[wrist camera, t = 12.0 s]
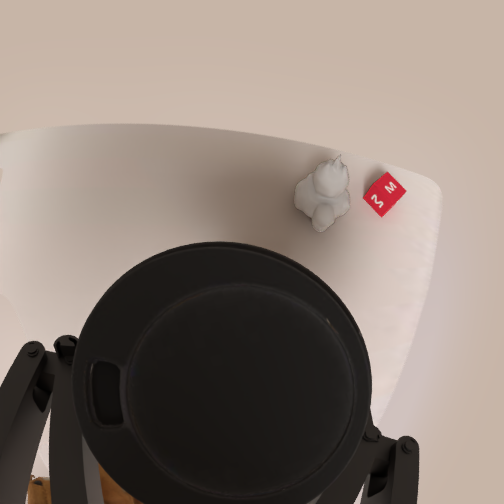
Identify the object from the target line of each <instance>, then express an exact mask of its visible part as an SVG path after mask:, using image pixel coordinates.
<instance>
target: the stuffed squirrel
mask: <svg viewBox="0 0 504 504" xmlns="http://www.w3.org/2000/svg"><path fill="white" fill-rule="evenodd" d="M98 465H99V473H100V481H101V488H102V494H103V500H104V504H143V503H141V502H140V501H138V500H137V499H135V498H134V497H132V496H131V495H130V494H128V493H127V492H126V491H125V490H123V489H122V488H121V487H120V486H119V485H118V484H117V483H116V482H115V481H114V480H113V479H112V478H111V477H110V476H109V475H108V474H107V473H106V472H105V471H104V469H103V468H102V467H101V465H100V464H99V463H98ZM32 477H33V478H35V476H34V475H31V477H30V481H29V486H28V490H27V491H28V504H51V491H50V478H48V477H38V478H36V479H34V480H32Z"/></svg>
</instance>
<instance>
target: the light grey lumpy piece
mask: <svg viewBox="0 0 504 504" xmlns="http://www.w3.org/2000/svg"><path fill="white" fill-rule="evenodd" d="M348 183H349V175H348V171H347V166H345V165H344V164H343V163H342V162H341V154H340V155H339V156H338V158H337V159H336V160H328V161H325V162H322V163H321V164H319V165H318V166H317V168H316V170H315V172H312V173H310V174H309V175H308V176H307V177H306V178H305V179H303V180H301V181H300V182H299V183H298V184H297V186H296V188H295V197H294V204H295V207H296V208H297V209H299V210H301V211H303V212H304V213H305V214H306V215H307V216H309V217H311V218H312V226H313V228H314V229H315V230H316V231H319V232H323V231H325V230H326V229H327V228H328V227H329V226H330V225H332V224H333V223H334V221H335V218H337V217H340V216H342V215H344V214H345V213H346V212H347V211H348V210H349V208H350V195H349V192H348V190H347V189H346V187H347V186H348Z"/></svg>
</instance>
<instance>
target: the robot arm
mask: <svg viewBox="0 0 504 504" xmlns="http://www.w3.org/2000/svg"><path fill="white" fill-rule="evenodd" d="M77 342H78V338H76V337H75V336H72V335H64V336H61V337H59V338H58V339H57V340H56V341H55V342H54V348H55V351H56V353H55V352H50V351H45V348H44V346H43V345H42V343H40V342H38V341H30V342H28V343H26V344H25V345H24V346H23V347H22V349H21V350H20V352H19V353H18V355H17V357H16V359H15V360H14V363H13V364H12V366H11V368H10V369H9V371H8V373H7V375H6V377H5V379H4V381H3V383H2V385H1V387H0V504H25V501H26V495H27V490H28V486H29V481H30V477H31V472H32V468H33V464H34V460H35V457H36V453H37V450H38V446H39V443H40V439H41V436H42V433H43V430H44V427H45V424H46V421H47V418H48V415H49V412H50V409H51V415H50V433H49V476H50V491H51V504H104V500H103V494H102V488H101V481H100V473H99V465H98V461H97V460H96V459H95V457H94V455H93V454H92V452H91V451H90V449H89V447H88V445H87V443H86V441H85V439H84V437H83V435H82V432H81V430H80V427H79V424H78V421H77V418H76V414H75V410H74V405H73V398H72V386H71V376H72V364H73V358H74V353H75V349H76V345H77ZM418 481H419V445H418V443H417V441H416V440H415V439H414V438H412V437H410V436H403V437H400V438H399V439H398V440H394V439H391V438H388V437H385V436H382V435H381V432H380V431H379V429H378V428H377V427H375V426H374V425H373V421H372V415H371V410H369V415H368V419H367V424H366V427H365V431H364V434H363V436H362V439H361V441H360V444H359V446H358V448H357V450H356V452H355V454H354V456H353V458H352V459H351V461H350V462H349V464H348V465H347V467H346V468H345V469H344V471H343V472H342V473H341V474H340V476H339V477H338V478H337V479H336V480H335V481H334V482H333V483H332V484H331V485H330V486H329V487H328V488H327V489H326V490H325V491H324V492H323V493H321V494H320V495H319V496H318V497H316V498H315V499H313V500H312V501H311V502H309V503H308V504H354V502H355V500H356V498H357V496H358V494H359V492H360V490H361V488H362V486H363V484H364V488H363V493H362V498H361V503H360V504H417V495H418ZM364 482H365V483H364Z"/></svg>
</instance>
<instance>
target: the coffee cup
mask: <svg viewBox="0 0 504 504" xmlns="http://www.w3.org/2000/svg"><path fill="white" fill-rule="evenodd" d="M71 386H72V398H73V405H74V410H75V414H76V418H77V421H78V424H79V427H80V430H81V432H82V435H83V437H84V439H85V441H86V443H87V445H88V447H89V449H90V451H91V452H92V454H93V455H94V457H95V459H96V460H97V461H98V463H99V464H100V465H101V467H102V468H103V469H104V471H105V472H106V473H107V474H108V475H109V476H110V477H111V478H112V479H113V480H114V481H115V482H116V483H117V484H118V485H119V486H120V487H121V488H122V489H123V490H125V491H126V492H127V493H128V494H130V495H131V496H132V497H134V498H135V499H137V500H138V501H140V502H141V503H143V504H308V503H309V502H311V501H312V500H313V499H315V498H316V497H318V496H319V495H320V494H321V493H323V492H324V491H325V490H326V489H327V488H328V487H329V486H330V485H331V484H332V483H333V482H334V481H335V480H336V479H337V478H338V477H339V476H340V474H341V473H342V472H343V471H344V469H345V468H346V467H347V465H348V464H349V462H350V461H351V459H352V458H353V456H354V454H355V452H356V450H357V448H358V446H359V444H360V441H361V439H362V436H363V434H364V431H365V427H366V424H367V419H368V415H369V410H370V405H371V395H372V376H371V367H370V361H369V356H368V352H367V348H366V345H365V342H364V339H363V337H362V334H361V332H360V329H359V327H358V325H357V324H356V322H355V320H354V318H353V316H352V315H351V313H350V312H349V310H348V308H347V307H346V306H345V304H344V303H343V302H342V300H341V299H340V298H339V297H338V295H337V294H336V293H335V292H334V291H333V290H332V289H331V288H330V287H329V286H328V285H327V284H326V283H325V282H324V281H323V280H321V279H320V278H319V277H318V276H317V275H315V274H314V273H313V272H311V271H310V270H308V269H307V268H305V267H304V266H302V265H301V264H299V263H297V262H295V261H293V260H292V259H290V258H288V257H286V256H283V255H281V254H278V253H276V252H274V251H271V250H267V249H264V248H261V247H257V246H253V245H248V244H242V243H235V242H202V243H194V244H189V245H184V246H179V247H176V248H173V249H169V250H166V251H164V252H161V253H159V254H156V255H154V256H152V257H150V258H148V259H146V260H144V261H143V262H141V263H139V264H138V265H136V266H134V267H133V268H132V269H130V270H129V271H128V272H126V273H125V274H124V275H122V276H121V277H120V278H119V279H118V280H117V281H116V282H115V283H114V284H113V285H112V286H111V287H110V288H109V289H108V290H107V291H106V292H105V293H104V295H103V296H102V297H101V299H100V300H99V301H98V303H97V304H96V306H95V307H94V309H93V310H92V312H91V314H90V315H89V317H88V318H87V320H86V322H85V325H84V327H83V329H82V331H81V334H80V336H79V339H78V342H77V345H76V349H75V353H74V358H73V364H72V376H71Z"/></svg>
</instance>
